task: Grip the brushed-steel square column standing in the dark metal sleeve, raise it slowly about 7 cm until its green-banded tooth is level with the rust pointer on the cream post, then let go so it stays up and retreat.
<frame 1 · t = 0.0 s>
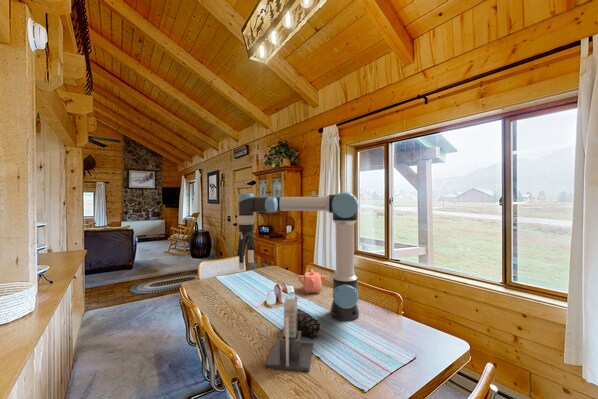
hand: (246, 265, 136), 28 cm above the table, fingers open, 13 cm apart
pine cone: (304, 332, 124), on the table
teapot: (312, 291, 179), on the table
column: (290, 327, 104), point 12 cm above the table, slide at 0.0 cm
stand base: (291, 356, 105), on the table
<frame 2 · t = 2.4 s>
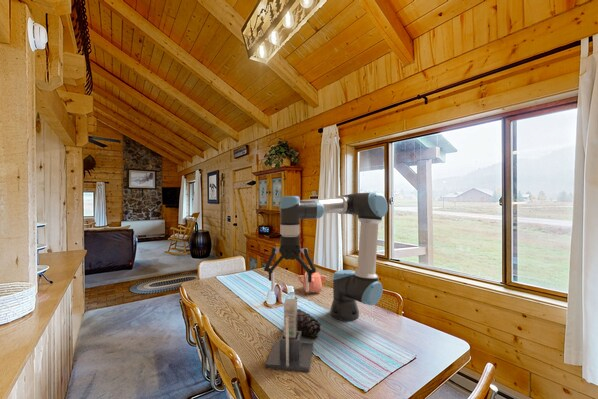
hand: (290, 289, 105), 26 cm above the table, fingers open, 13 cm apart
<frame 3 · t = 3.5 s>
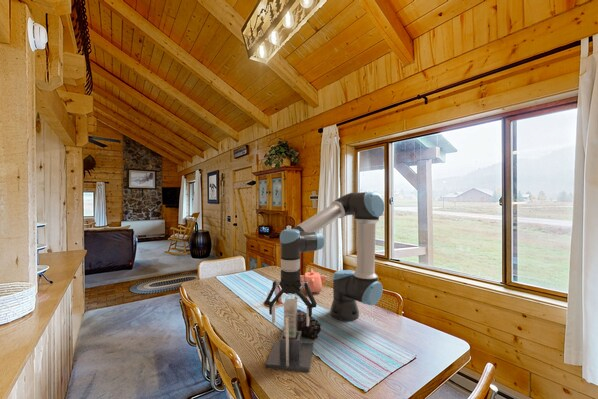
hand: (290, 323, 105), 13 cm above the table, fingers open, 13 cm apart
nothing on the table moved.
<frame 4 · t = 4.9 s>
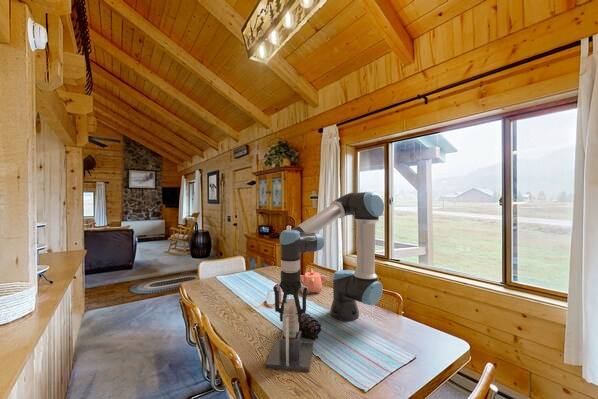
hand: (290, 329, 105), 11 cm above the table, fingers closed on column, 4 cm apart
column: (290, 327, 104), point 12 cm above the table, slide at 0.0 cm, touching gripper
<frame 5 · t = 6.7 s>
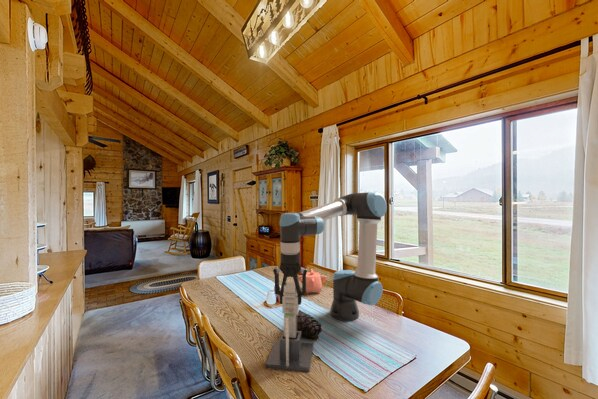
hand: (290, 312, 105), 18 cm above the table, fingers closed on column, 4 cm apart
column: (290, 309, 104), point 19 cm above the table, slide at 6.9 cm, touching gripper
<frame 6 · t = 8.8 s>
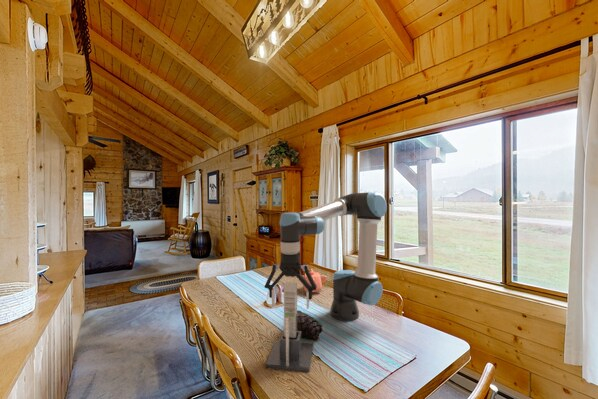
hand: (290, 306, 105), 20 cm above the table, fingers open, 13 cm apart
column: (290, 309, 104), point 19 cm above the table, slide at 7.0 cm
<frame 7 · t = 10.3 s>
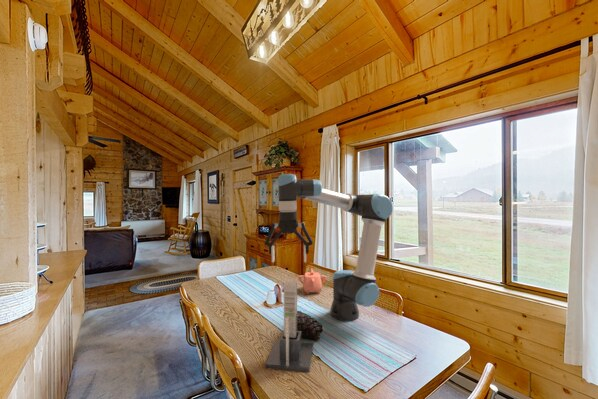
hand: (289, 261, 113), 35 cm above the table, fingers open, 13 cm apart
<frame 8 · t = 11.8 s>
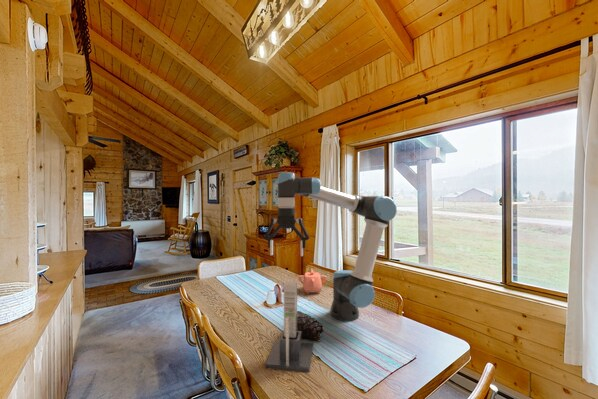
hand: (286, 255, 119), 37 cm above the table, fingers open, 13 cm apart
at the end: column slide at 7.0 cm; the gripper is holding nothing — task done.
